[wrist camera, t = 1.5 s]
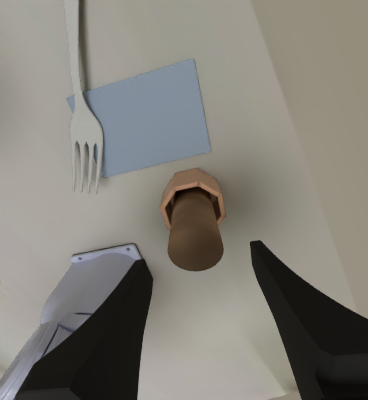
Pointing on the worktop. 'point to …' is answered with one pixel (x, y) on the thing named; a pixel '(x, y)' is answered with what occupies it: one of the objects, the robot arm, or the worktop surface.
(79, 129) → the fork
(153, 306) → the worktop surface
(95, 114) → the mat
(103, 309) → the robot arm
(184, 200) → the peg
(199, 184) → the cup
